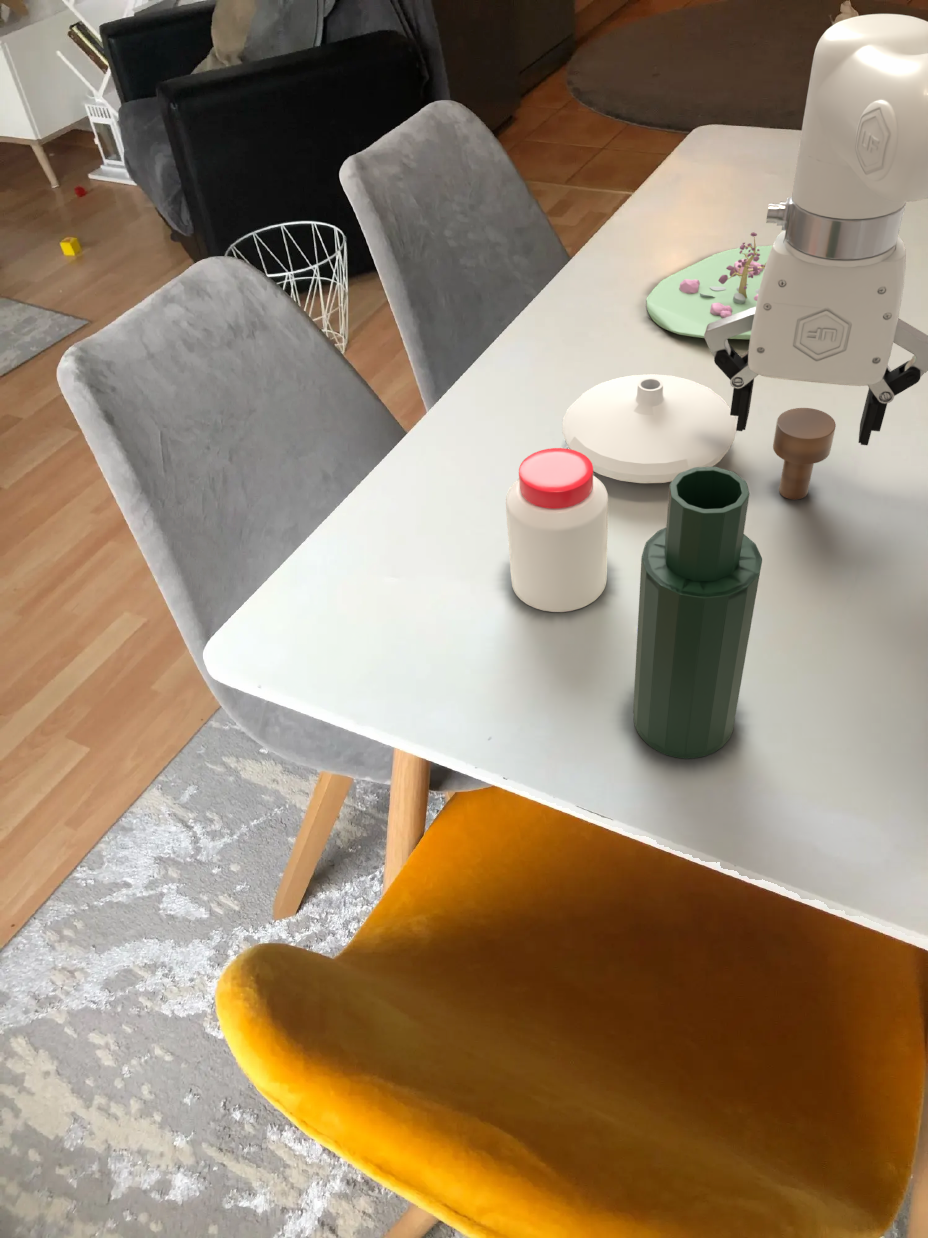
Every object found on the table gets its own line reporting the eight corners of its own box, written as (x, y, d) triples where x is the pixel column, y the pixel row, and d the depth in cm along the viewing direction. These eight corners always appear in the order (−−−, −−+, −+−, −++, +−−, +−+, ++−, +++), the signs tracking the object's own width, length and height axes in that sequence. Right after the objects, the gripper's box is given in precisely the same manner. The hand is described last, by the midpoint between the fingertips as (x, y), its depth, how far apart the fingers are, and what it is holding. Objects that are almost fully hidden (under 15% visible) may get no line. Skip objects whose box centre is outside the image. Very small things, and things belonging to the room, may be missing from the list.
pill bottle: (577, 625, 74) (576, 513, 67) (493, 592, 78) (483, 482, 70) (623, 566, 79) (627, 455, 71) (542, 537, 82) (537, 429, 74)
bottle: (754, 733, 65) (800, 500, 51) (671, 774, 64) (695, 544, 50) (694, 669, 70) (721, 439, 56) (614, 706, 68) (622, 478, 54)
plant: (674, 242, 120) (679, 168, 114) (848, 253, 114) (863, 174, 108) (629, 341, 104) (632, 261, 98) (829, 360, 98) (846, 275, 92)
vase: (705, 519, 82) (712, 450, 77) (535, 481, 88) (532, 415, 83) (753, 420, 91) (763, 354, 86) (598, 392, 97) (598, 328, 92)
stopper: (832, 496, 83) (848, 427, 78) (789, 514, 81) (802, 445, 76) (796, 469, 86) (809, 401, 81) (754, 486, 84) (765, 418, 80)
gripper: (709, 239, 67) (689, 442, 79) (979, 255, 62) (913, 468, 75) (724, 195, 72) (703, 393, 84) (976, 207, 67) (914, 415, 79)
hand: (802, 428), depth 79 cm, fingers open, 9 cm apart
